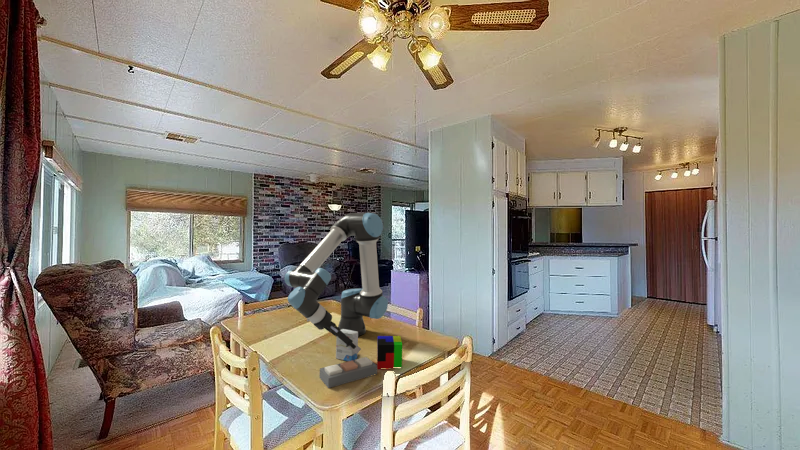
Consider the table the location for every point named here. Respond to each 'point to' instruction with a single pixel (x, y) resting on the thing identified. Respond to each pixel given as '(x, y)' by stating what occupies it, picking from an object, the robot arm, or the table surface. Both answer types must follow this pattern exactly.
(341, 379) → the keypad
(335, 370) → the key
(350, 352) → the ink box
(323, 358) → the table surface
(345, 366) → the middle key
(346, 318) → the robot arm
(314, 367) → the table surface
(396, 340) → the puzzle toy
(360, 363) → the key
